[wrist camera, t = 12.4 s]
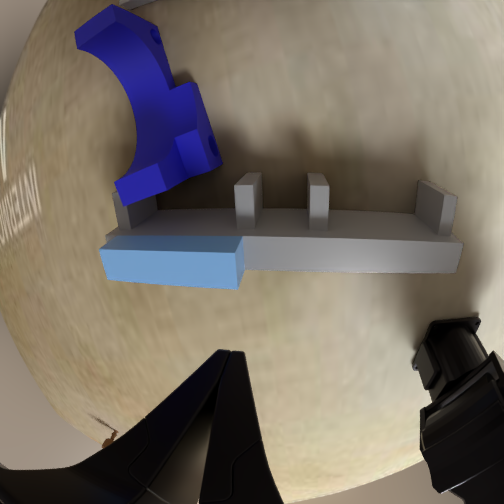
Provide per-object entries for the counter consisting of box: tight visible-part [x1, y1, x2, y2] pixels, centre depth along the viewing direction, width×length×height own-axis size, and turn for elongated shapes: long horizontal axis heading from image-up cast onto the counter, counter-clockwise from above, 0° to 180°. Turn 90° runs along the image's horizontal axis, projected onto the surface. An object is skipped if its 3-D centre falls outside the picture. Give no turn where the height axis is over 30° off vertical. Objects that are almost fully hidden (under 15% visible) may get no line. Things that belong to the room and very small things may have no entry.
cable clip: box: [74, 4, 223, 207], centre depth 14 cm, size 12×4×6 cm, turn 17°
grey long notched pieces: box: [99, 0, 464, 289], centre depth 12 cm, size 22×20×7 cm
